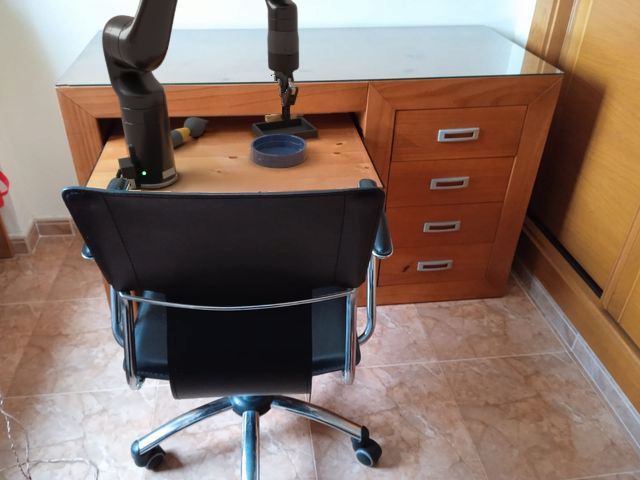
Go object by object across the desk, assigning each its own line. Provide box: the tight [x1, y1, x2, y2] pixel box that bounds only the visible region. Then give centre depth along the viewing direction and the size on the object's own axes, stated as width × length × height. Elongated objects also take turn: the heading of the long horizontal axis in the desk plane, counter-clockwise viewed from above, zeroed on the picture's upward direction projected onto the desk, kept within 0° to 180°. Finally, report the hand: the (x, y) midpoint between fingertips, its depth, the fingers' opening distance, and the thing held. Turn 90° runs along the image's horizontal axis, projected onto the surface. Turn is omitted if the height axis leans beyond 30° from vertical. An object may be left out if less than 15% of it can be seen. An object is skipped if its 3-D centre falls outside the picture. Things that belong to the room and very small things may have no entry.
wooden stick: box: [264, 113, 304, 122], centre depth 137 cm, size 10×2×2 cm, turn 115°
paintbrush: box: [171, 116, 210, 149], centre depth 133 cm, size 20×5×5 cm, turn 155°
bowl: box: [249, 134, 308, 169], centre depth 127 cm, size 13×13×4 cm
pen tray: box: [251, 116, 319, 141], centre depth 139 cm, size 14×10×2 cm
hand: (284, 118), depth 138 cm, fingers closed on wooden stick, 1 cm apart
